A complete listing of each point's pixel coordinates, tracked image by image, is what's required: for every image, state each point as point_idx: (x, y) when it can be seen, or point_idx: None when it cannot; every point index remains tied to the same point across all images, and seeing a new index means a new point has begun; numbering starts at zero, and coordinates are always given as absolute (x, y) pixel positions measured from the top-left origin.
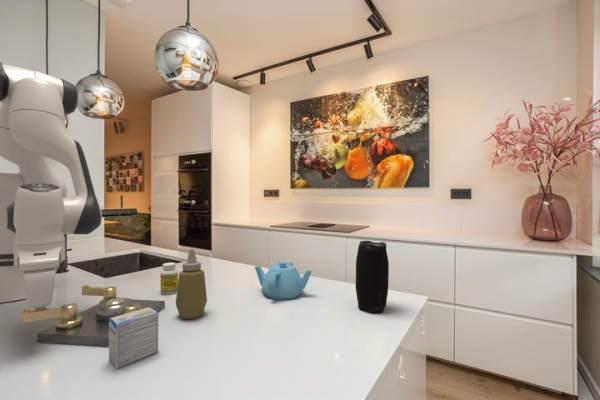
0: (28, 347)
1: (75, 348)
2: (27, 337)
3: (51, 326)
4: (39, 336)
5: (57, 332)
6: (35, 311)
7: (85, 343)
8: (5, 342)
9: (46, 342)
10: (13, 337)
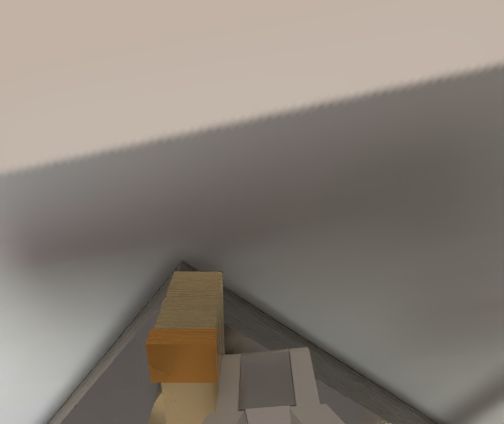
0: (130, 238)
1: (38, 390)
2: (281, 210)
3: (242, 339)
4: (166, 291)
5: (131, 370)
6: (177, 403)
7: (51, 422)
8: (270, 114)
9: (152, 298)
10: (331, 139)
